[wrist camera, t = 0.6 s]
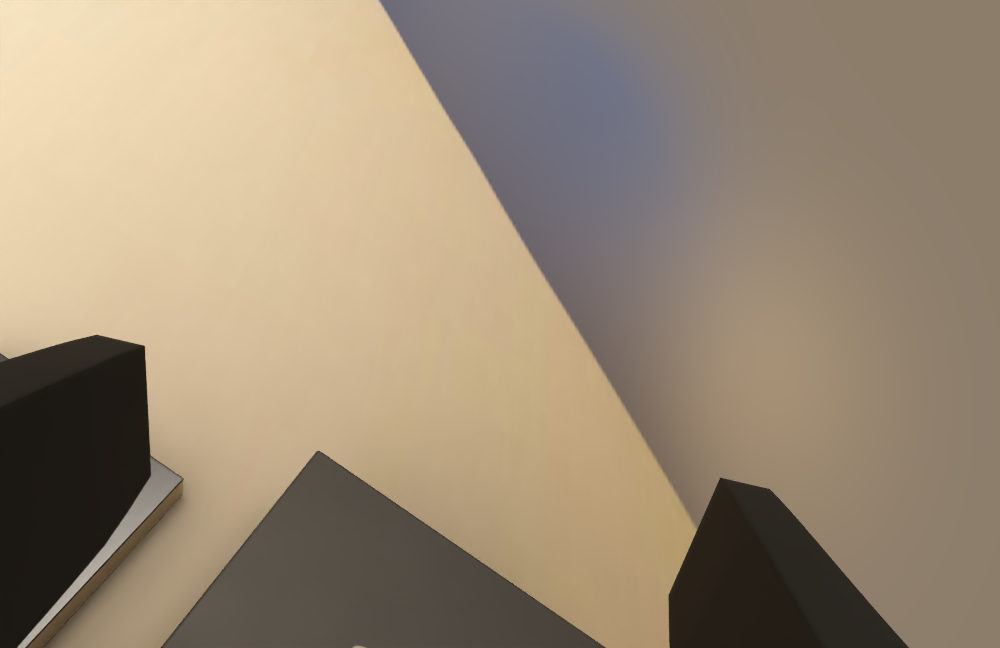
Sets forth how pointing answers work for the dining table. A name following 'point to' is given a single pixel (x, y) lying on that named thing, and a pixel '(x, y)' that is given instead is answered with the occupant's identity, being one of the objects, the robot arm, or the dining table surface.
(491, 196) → the dining table surface
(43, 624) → the button pad
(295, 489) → the box lid
